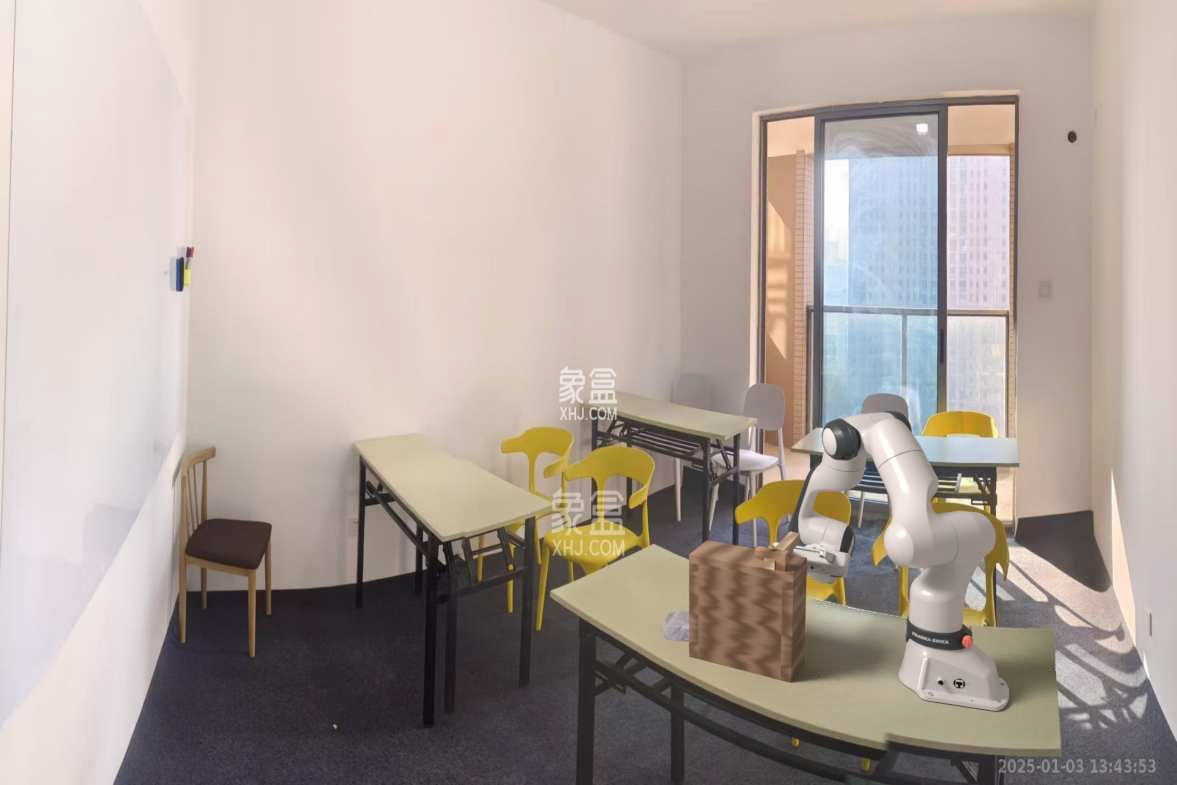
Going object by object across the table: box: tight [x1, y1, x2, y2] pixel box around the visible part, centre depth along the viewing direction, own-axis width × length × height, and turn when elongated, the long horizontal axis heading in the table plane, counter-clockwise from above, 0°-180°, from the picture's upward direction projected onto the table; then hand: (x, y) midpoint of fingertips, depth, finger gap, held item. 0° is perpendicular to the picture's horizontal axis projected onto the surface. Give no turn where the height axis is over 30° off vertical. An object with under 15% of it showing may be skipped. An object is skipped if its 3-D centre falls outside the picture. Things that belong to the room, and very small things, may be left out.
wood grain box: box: [688, 540, 808, 683], centre depth 186 cm, size 25×11×26 cm, turn 59°
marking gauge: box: [755, 532, 801, 572], centre depth 184 cm, size 7×20×5 cm, turn 149°
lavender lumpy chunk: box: [661, 610, 689, 643], centre depth 203 cm, size 12×5×10 cm
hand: (804, 550), depth 201 cm, fingers open, 8 cm apart
